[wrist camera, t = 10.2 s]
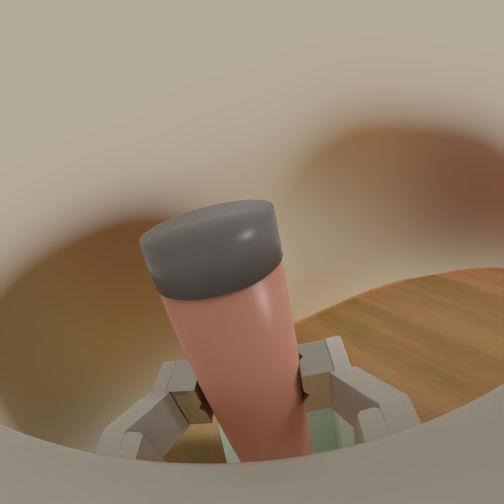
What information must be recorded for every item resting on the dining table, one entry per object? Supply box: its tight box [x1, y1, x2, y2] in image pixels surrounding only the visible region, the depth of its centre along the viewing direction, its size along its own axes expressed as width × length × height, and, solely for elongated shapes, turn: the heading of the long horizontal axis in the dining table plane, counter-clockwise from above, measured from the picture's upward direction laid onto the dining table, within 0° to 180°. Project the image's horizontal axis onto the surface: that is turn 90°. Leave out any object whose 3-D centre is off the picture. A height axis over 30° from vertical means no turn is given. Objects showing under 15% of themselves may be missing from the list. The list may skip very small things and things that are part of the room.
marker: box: [139, 200, 313, 462], centre depth 9 cm, size 3×3×12 cm
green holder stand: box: [218, 408, 355, 463], centre depth 16 cm, size 13×13×12 cm
